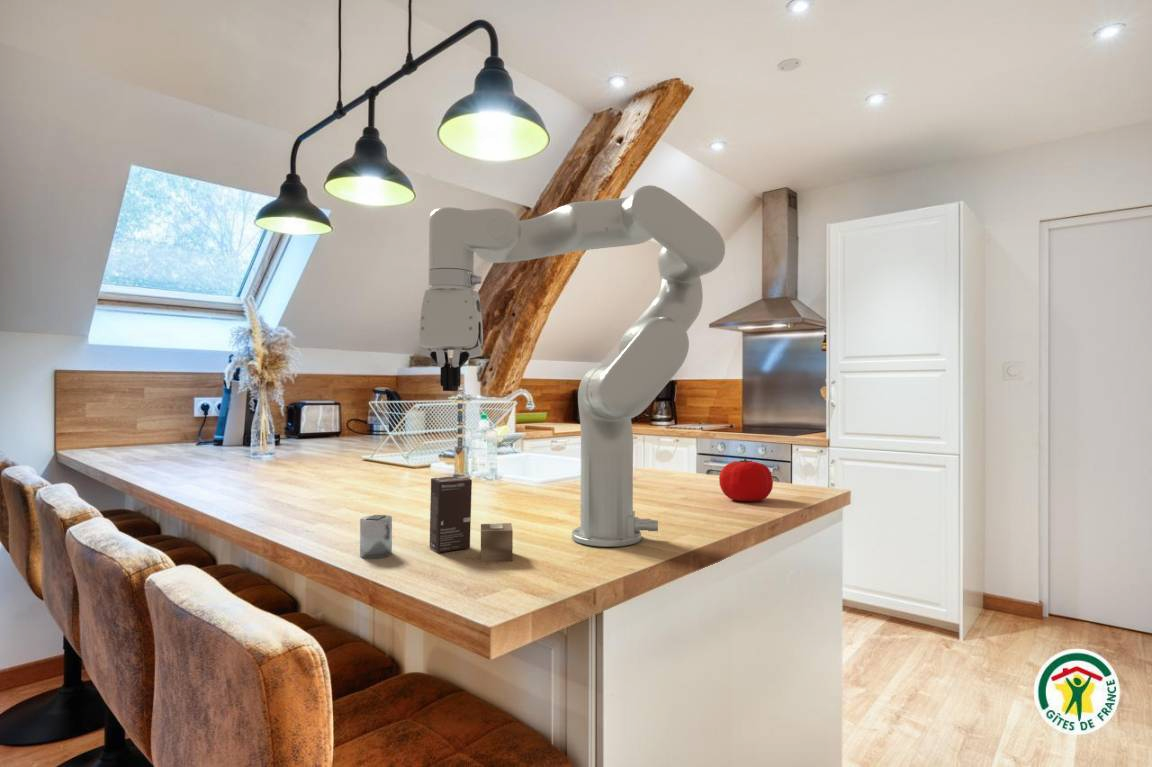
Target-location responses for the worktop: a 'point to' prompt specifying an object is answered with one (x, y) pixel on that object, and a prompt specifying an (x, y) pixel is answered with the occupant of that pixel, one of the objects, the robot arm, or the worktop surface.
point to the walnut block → (496, 542)
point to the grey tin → (375, 536)
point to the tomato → (746, 481)
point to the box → (450, 513)
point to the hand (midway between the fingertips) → (450, 390)
